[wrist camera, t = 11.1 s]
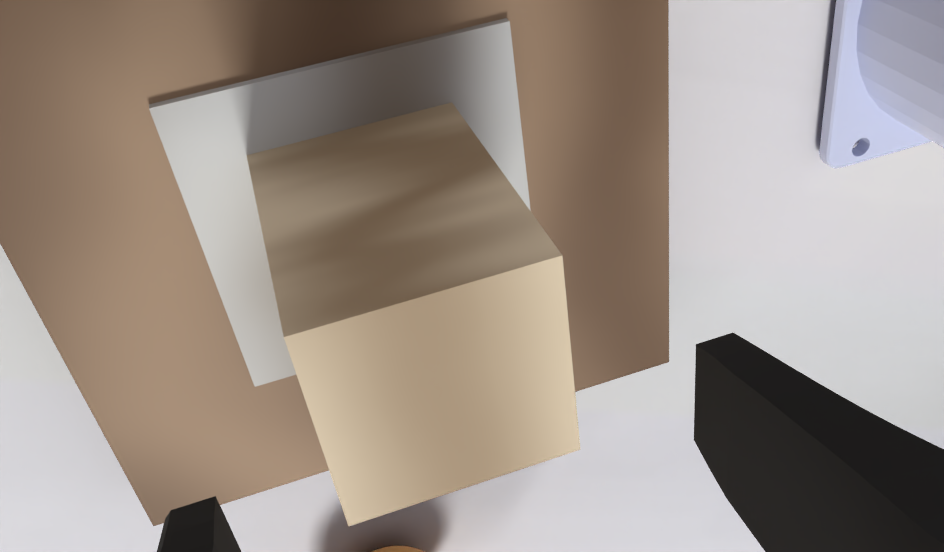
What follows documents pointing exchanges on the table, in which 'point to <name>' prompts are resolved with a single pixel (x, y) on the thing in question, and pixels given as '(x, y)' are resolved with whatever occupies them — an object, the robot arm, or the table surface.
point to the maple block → (416, 309)
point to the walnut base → (234, 206)
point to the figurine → (398, 549)
